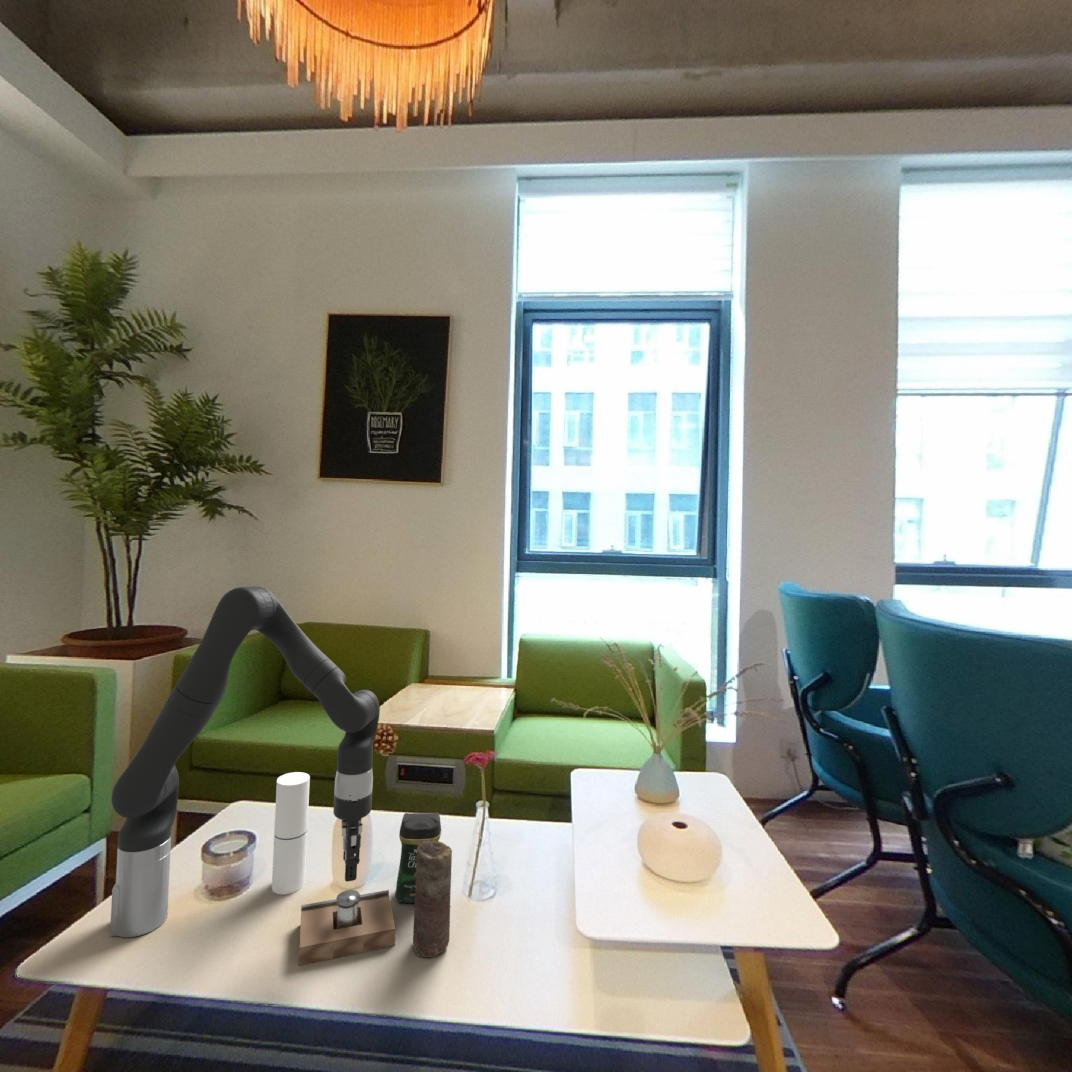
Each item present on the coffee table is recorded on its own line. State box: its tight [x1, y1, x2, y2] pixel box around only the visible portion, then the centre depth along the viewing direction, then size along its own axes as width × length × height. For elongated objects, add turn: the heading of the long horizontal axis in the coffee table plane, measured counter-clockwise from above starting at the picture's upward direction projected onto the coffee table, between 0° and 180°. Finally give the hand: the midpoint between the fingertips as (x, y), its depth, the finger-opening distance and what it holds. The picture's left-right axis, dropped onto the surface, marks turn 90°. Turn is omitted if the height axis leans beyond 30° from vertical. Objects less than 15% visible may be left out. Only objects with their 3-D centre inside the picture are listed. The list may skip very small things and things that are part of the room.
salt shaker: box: [335, 889, 361, 929], centre depth 118 cm, size 5×5×8 cm
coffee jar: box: [395, 812, 442, 904], centre depth 132 cm, size 10×8×19 cm
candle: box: [412, 841, 453, 958], centre depth 116 cm, size 8×7×20 cm
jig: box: [298, 889, 396, 967], centre depth 118 cm, size 18×12×4 cm, turn 111°
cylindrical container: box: [271, 771, 311, 896], centre depth 133 cm, size 7×7×25 cm
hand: (349, 869), depth 118 cm, fingers open, 7 cm apart
